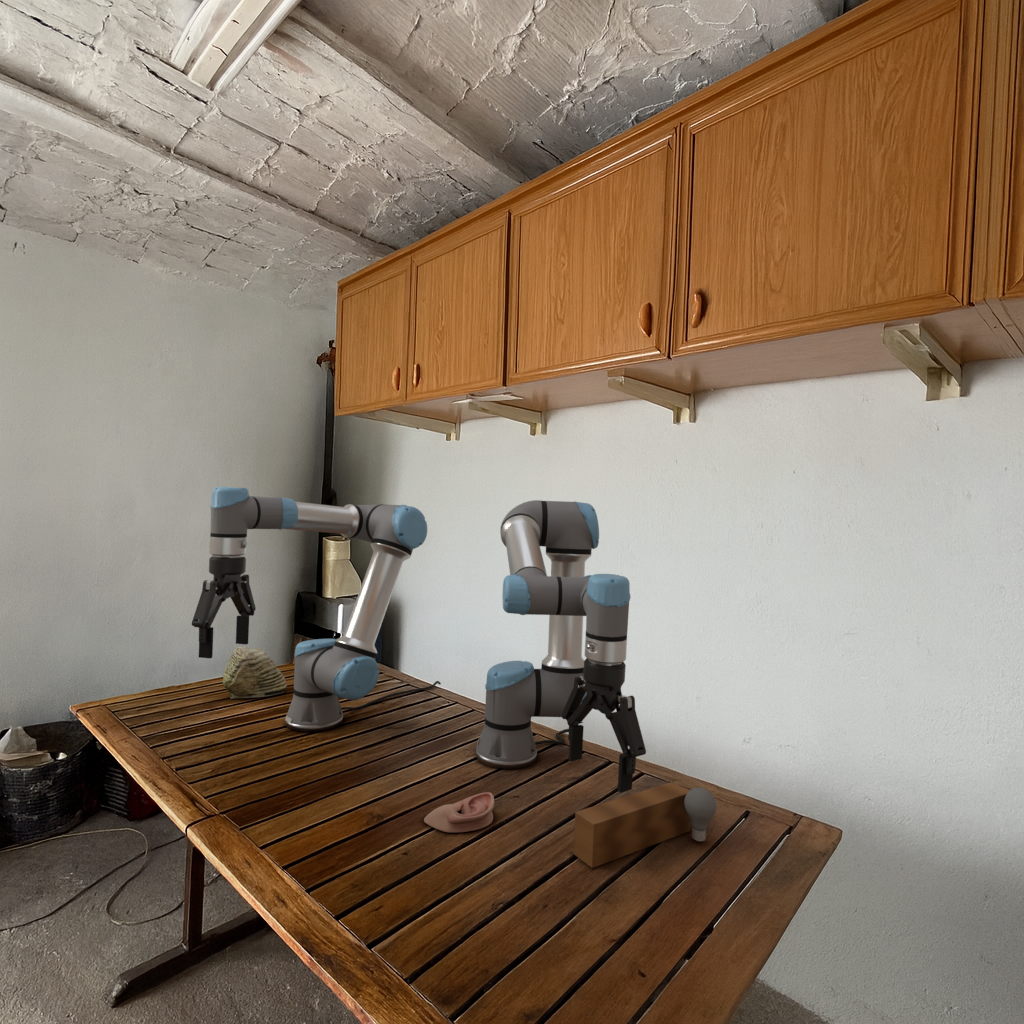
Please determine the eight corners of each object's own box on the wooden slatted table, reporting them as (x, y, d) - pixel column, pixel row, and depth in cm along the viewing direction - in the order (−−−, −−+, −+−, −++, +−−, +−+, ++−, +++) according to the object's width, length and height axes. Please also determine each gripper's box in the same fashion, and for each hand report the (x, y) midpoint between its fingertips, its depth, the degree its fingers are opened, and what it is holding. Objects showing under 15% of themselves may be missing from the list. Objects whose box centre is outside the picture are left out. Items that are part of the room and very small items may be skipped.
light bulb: (678, 831, 125) (680, 781, 125) (707, 831, 126) (709, 782, 126) (689, 848, 119) (691, 796, 119) (719, 848, 120) (722, 796, 120)
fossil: (218, 695, 195) (220, 647, 195) (278, 685, 208) (279, 640, 207) (228, 703, 189) (230, 653, 188) (289, 692, 201) (290, 645, 201)
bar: (670, 819, 130) (671, 781, 130) (690, 831, 126) (691, 792, 126) (573, 854, 116) (575, 811, 116) (592, 868, 112) (594, 824, 112)
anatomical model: (419, 808, 122) (437, 782, 134) (418, 828, 122) (437, 801, 134) (485, 817, 120) (499, 791, 131) (484, 838, 120) (498, 810, 131)
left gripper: (208, 561, 129) (204, 665, 129) (272, 552, 153) (269, 639, 154) (174, 559, 130) (171, 662, 130) (244, 550, 154) (241, 637, 155)
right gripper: (547, 645, 123) (542, 752, 124) (639, 682, 103) (632, 810, 104) (577, 641, 127) (571, 745, 129) (671, 676, 107) (664, 799, 108)
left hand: (224, 650), depth 142 cm, fingers open, 13 cm apart
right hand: (598, 774), depth 116 cm, fingers open, 13 cm apart
